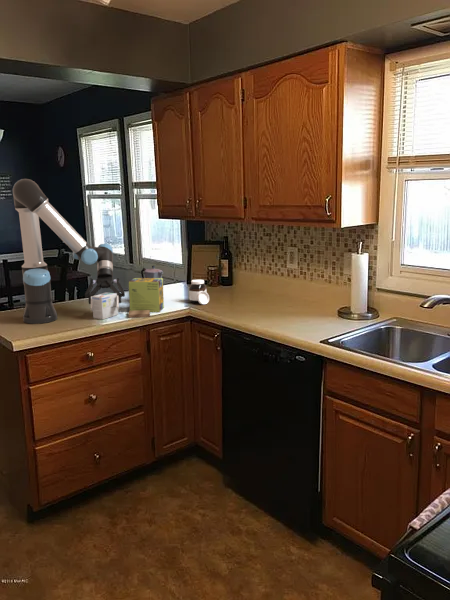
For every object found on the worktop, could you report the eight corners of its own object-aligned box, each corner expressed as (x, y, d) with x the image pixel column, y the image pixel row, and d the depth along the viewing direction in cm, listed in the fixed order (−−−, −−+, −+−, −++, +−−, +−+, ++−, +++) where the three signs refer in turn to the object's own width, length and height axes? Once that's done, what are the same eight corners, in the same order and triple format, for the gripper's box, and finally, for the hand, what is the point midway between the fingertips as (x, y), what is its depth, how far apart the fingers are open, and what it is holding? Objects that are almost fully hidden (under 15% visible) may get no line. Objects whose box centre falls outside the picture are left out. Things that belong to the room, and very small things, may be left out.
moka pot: (158, 305, 275) (157, 267, 270) (135, 302, 282) (134, 265, 278) (169, 301, 283) (168, 265, 279) (146, 299, 290) (145, 263, 286)
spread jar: (196, 299, 288) (195, 278, 286) (214, 301, 283) (214, 280, 281) (185, 304, 278) (184, 282, 275) (204, 306, 273) (203, 283, 270)
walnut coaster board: (128, 317, 250) (128, 314, 250) (129, 313, 258) (128, 310, 257) (149, 316, 251) (149, 313, 251) (149, 312, 259) (149, 309, 259)
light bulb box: (108, 313, 259) (107, 291, 257) (118, 314, 256) (117, 293, 253) (92, 318, 250) (91, 295, 248) (102, 319, 247) (101, 297, 244)
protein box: (160, 312, 260) (158, 281, 256) (129, 312, 261) (127, 281, 258) (164, 307, 270) (163, 278, 266) (134, 307, 271) (133, 277, 268)
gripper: (129, 275, 266) (130, 311, 254) (81, 276, 262) (80, 314, 251) (129, 266, 260) (129, 303, 248) (79, 267, 256) (78, 305, 245)
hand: (104, 308), depth 250 cm, fingers closed on light bulb box, 11 cm apart
